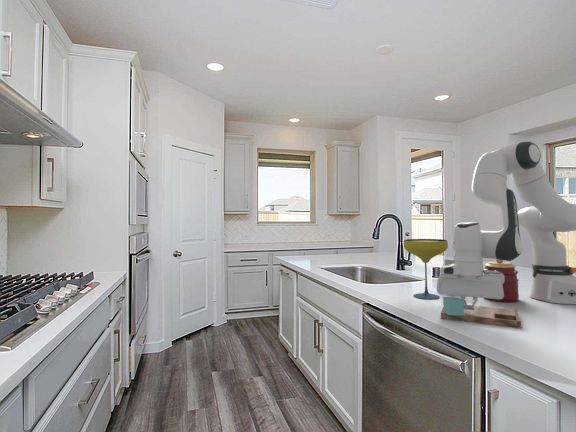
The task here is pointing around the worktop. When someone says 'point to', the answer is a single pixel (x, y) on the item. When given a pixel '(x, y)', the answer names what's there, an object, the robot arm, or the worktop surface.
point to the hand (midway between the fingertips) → (469, 309)
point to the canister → (506, 279)
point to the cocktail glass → (426, 257)
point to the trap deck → (488, 316)
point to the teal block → (453, 305)
